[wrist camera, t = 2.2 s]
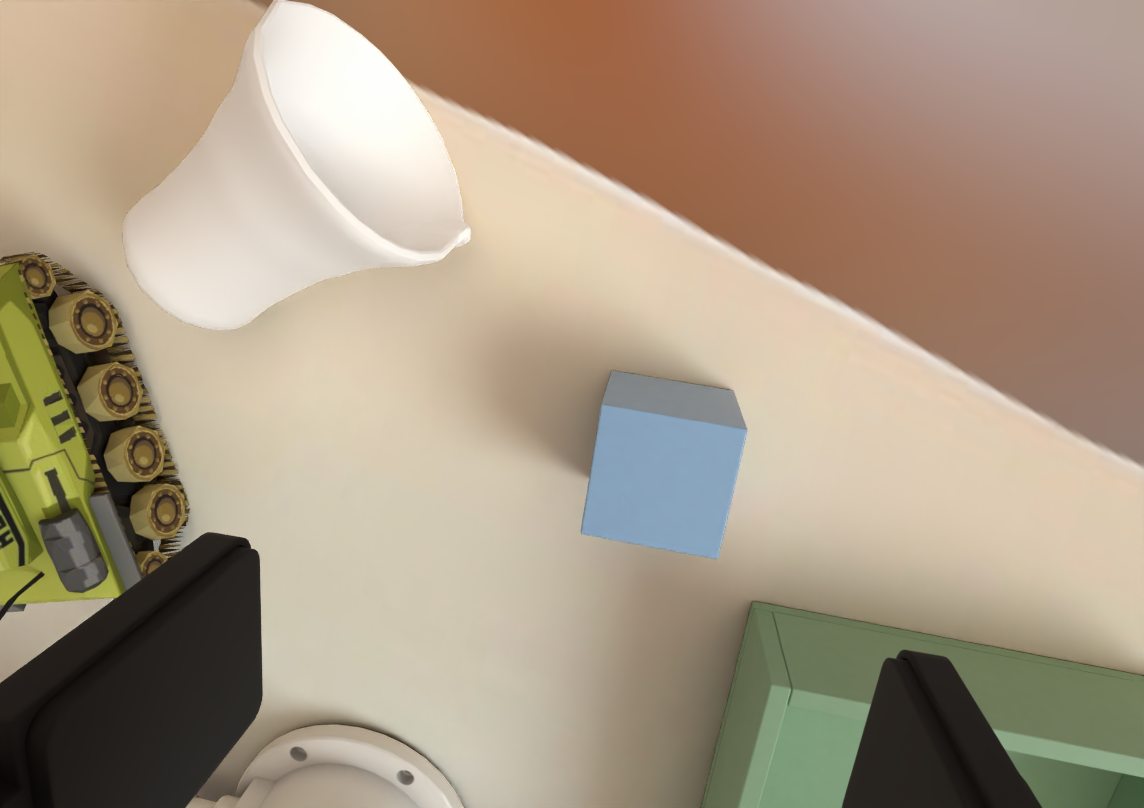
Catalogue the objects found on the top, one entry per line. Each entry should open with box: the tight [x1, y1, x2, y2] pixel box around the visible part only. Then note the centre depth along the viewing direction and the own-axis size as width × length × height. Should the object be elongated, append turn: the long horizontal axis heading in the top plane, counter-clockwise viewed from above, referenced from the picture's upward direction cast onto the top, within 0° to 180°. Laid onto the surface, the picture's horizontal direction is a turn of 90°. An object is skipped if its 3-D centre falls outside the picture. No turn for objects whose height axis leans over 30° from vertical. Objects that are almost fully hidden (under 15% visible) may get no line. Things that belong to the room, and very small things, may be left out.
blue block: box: [581, 370, 747, 559], centre depth 27 cm, size 5×5×5 cm
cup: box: [122, 0, 471, 330], centre depth 25 cm, size 9×9×10 cm
